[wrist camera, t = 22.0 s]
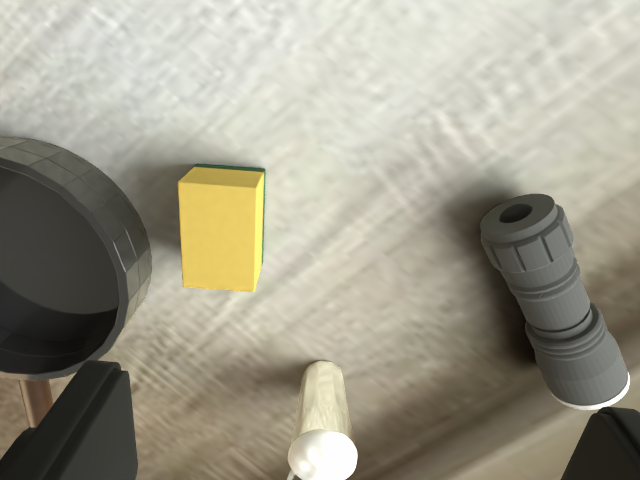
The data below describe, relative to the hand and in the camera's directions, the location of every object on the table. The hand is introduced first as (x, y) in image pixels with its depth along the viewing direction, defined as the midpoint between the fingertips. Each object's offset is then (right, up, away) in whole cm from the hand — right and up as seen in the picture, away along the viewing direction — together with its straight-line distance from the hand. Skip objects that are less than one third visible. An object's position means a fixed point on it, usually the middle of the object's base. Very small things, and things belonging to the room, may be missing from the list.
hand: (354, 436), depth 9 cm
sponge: (-7, +6, +23) cm, 24 cm away
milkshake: (-1, -7, +28) cm, 29 cm away
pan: (-21, +3, +24) cm, 32 cm away
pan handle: (-22, -9, +27) cm, 36 cm away
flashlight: (+16, +1, +25) cm, 29 cm away
